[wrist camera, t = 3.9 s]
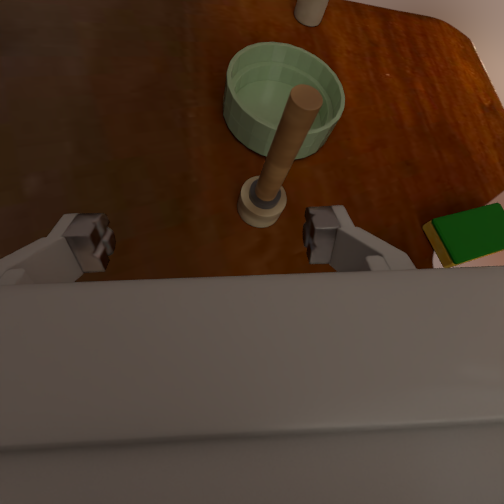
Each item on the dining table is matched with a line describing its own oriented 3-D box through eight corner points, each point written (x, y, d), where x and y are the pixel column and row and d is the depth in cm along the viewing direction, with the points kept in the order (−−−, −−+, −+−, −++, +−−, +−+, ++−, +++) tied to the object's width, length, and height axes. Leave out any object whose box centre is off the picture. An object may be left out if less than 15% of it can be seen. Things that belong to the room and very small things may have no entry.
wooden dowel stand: (228, 200, 41) (256, 81, 24) (263, 182, 43) (312, 62, 26) (253, 235, 40) (301, 135, 23) (288, 215, 42) (355, 111, 25)
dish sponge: (509, 248, 48) (525, 242, 46) (443, 269, 44) (457, 264, 42) (485, 209, 50) (499, 201, 48) (420, 226, 46) (432, 218, 44)
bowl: (201, 95, 47) (202, 58, 41) (286, 66, 53) (297, 31, 48) (264, 179, 44) (275, 151, 38) (347, 138, 50) (367, 109, 44)
